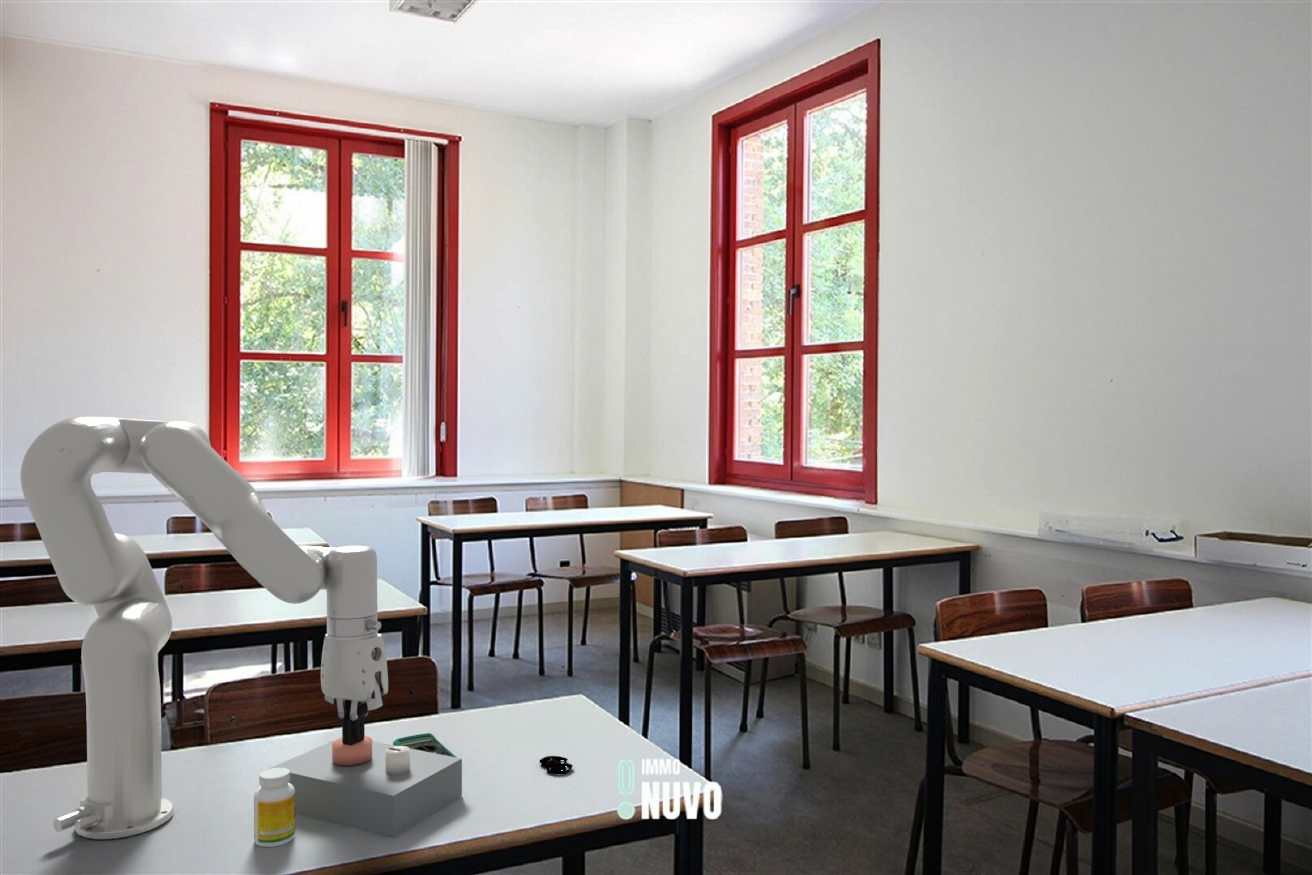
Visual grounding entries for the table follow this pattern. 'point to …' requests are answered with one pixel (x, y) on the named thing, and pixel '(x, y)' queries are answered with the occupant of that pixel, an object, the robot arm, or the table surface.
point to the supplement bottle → (274, 808)
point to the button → (351, 752)
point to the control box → (373, 788)
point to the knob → (397, 759)
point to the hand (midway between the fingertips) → (353, 741)
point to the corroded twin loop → (555, 764)
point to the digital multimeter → (423, 744)
